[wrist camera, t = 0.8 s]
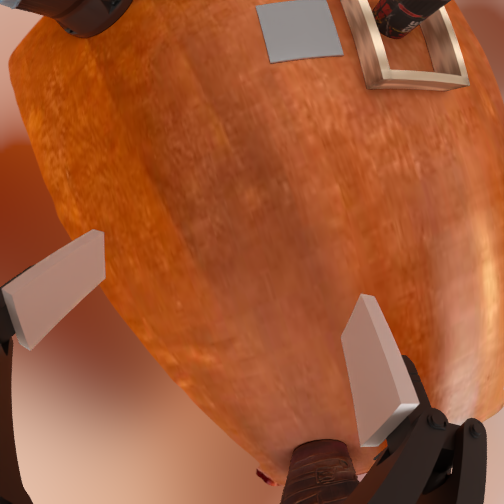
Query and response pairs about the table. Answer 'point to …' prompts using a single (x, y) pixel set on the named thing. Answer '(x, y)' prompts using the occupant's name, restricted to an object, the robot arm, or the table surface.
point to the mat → (299, 30)
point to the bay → (381, 77)
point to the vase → (320, 474)
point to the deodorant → (403, 15)
